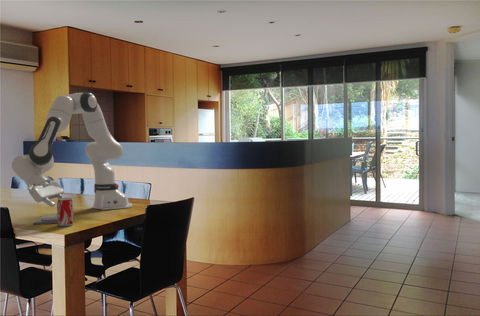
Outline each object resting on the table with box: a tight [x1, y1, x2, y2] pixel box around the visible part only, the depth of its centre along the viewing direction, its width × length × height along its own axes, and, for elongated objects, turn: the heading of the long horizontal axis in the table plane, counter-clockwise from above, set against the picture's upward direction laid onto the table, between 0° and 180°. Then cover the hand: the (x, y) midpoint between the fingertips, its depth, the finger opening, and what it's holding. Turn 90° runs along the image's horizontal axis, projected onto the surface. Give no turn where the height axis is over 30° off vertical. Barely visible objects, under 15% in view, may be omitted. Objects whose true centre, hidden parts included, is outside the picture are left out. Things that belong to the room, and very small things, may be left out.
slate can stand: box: [33, 213, 58, 225], centre depth 212 cm, size 15×15×2 cm
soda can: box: [56, 197, 74, 228], centre depth 201 cm, size 7×7×13 cm
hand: (58, 204), depth 201 cm, fingers open, 8 cm apart
